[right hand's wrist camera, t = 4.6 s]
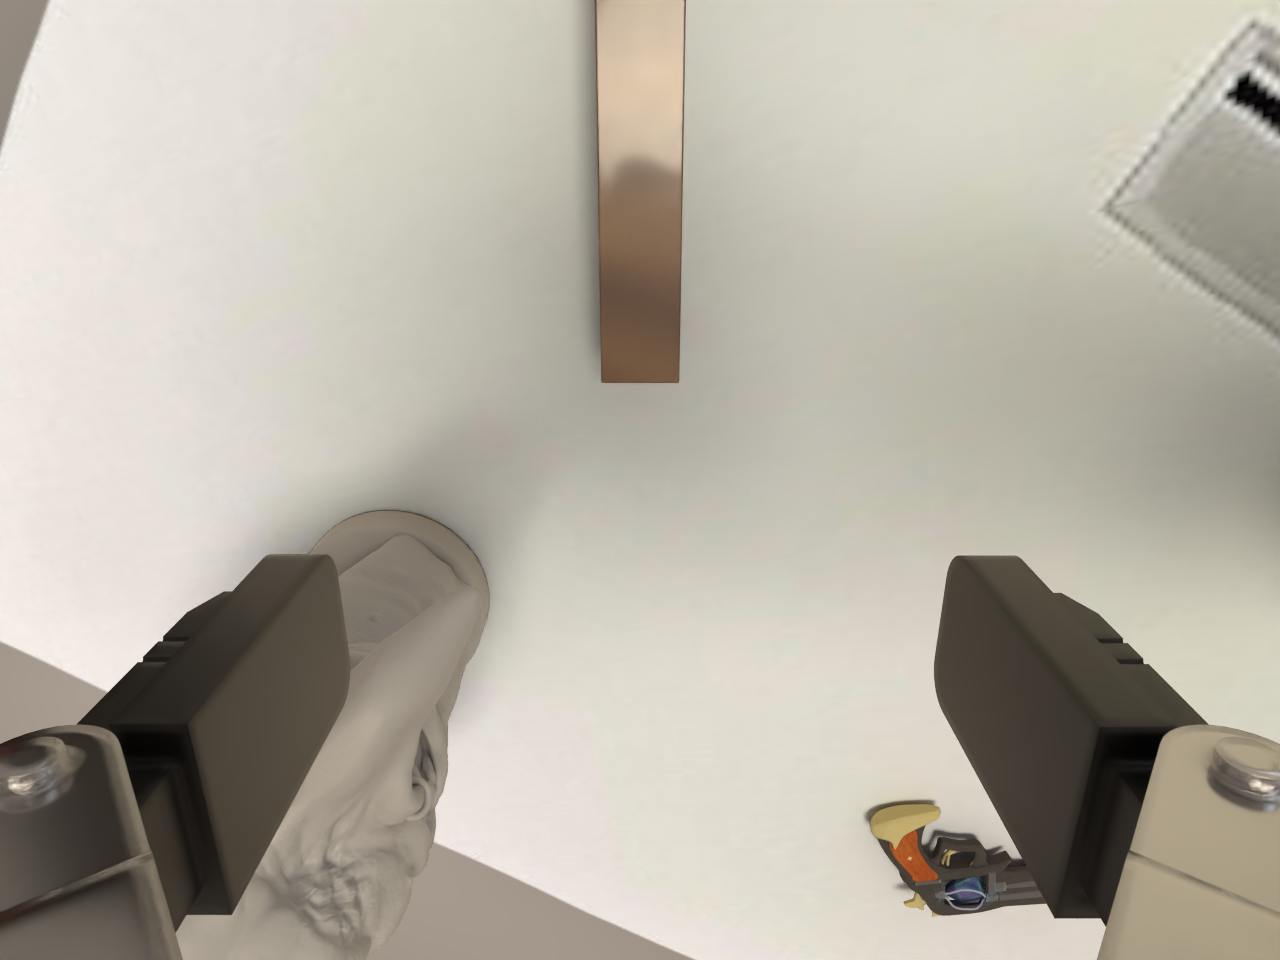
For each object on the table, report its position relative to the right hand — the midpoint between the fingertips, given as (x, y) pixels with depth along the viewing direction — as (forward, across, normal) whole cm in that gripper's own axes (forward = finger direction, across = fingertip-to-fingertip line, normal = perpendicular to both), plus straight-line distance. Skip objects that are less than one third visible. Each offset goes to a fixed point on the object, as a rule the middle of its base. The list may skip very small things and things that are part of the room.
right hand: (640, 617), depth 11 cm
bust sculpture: (+42, +15, +19) cm, 49 cm away
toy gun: (+42, -27, +45) cm, 68 cm away
